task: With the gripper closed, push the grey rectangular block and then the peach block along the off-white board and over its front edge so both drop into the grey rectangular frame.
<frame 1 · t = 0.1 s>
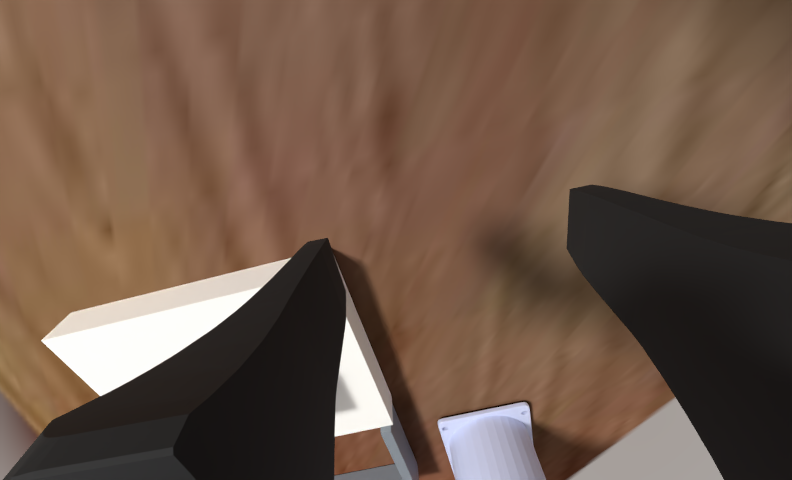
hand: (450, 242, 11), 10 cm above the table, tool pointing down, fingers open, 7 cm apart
board: (249, 359, 27), on the table
grey rectangular frame: (310, 449, 33), on the table
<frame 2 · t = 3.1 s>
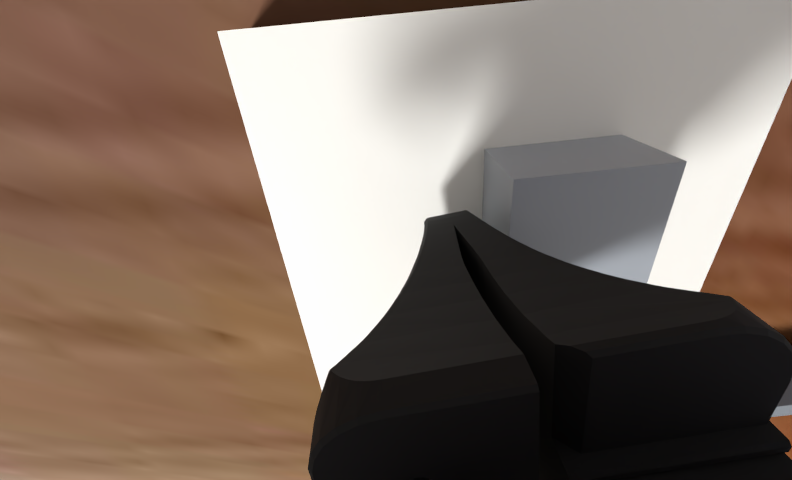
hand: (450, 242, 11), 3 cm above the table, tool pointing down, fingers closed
grey rectangular block: (543, 218, 12), point 2 cm above the table, touching board, gripper
board: (485, 257, 15), on the table
grey rectangular frame: (776, 227, 15), on the table
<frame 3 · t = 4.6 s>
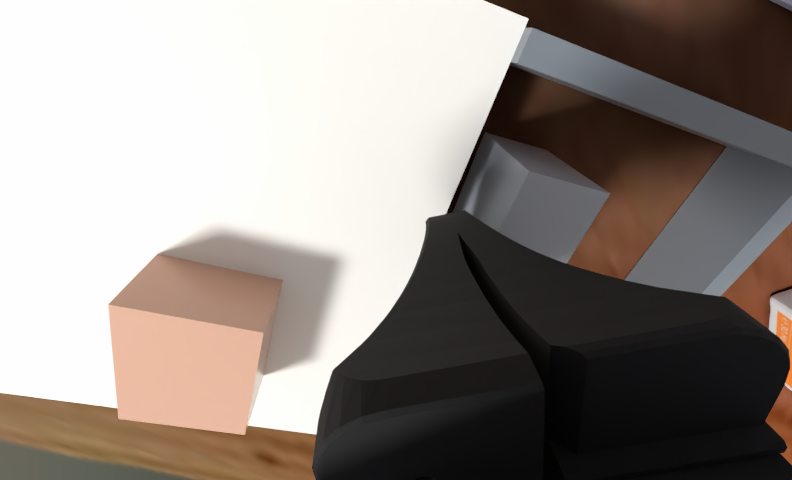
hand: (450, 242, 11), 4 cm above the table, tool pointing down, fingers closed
grey rectangular block: (472, 219, 12), point 2 cm above the table, tilted 91°, touching gripper
peach block: (216, 321, 13), point 2 cm above the table, touching board
board: (219, 213, 14), on the table
grey rectangular frame: (510, 283, 16), on the table
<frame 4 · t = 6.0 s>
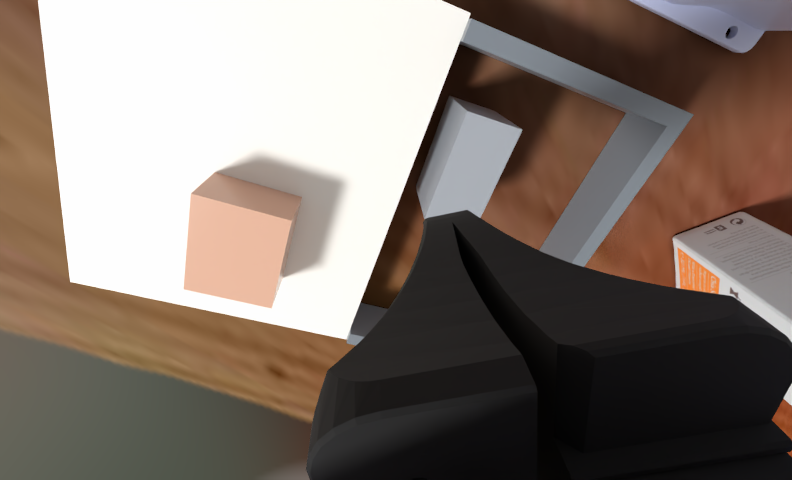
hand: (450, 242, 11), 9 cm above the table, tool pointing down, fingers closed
grey rectangular block: (437, 155, 17), point 2 cm above the table, tilted 90°
peach block: (251, 229, 18), point 2 cm above the table, touching board
board: (254, 152, 19), on the table
grey rectangular frame: (472, 218, 21), on the table
skincare box: (702, 257, 24), on the table
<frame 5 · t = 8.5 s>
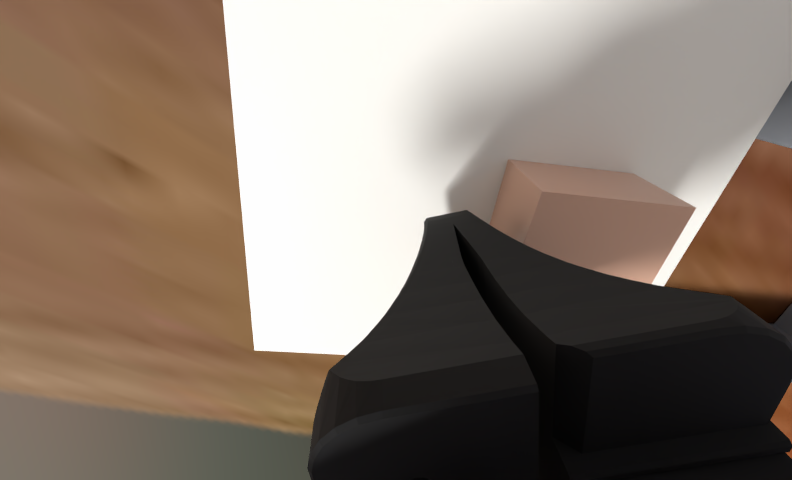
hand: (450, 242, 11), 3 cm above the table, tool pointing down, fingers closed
peach block: (544, 238, 12), point 3 cm above the table, touching board, gripper
board: (482, 121, 12), on the table
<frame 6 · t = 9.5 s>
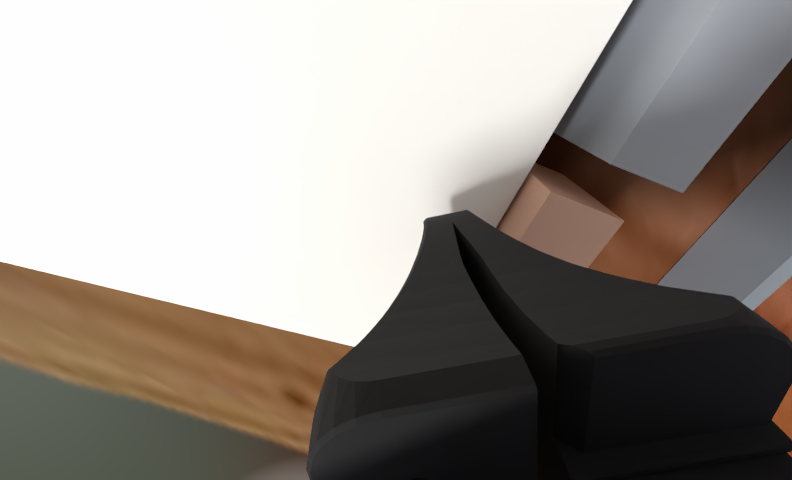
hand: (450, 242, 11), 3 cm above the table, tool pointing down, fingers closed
grey rectangular block: (624, 58, 10), point 2 cm above the table, tilted 90°
peach block: (486, 232, 13), point 2 cm above the table, tilted 89°
board: (301, 50, 11), on the table
grey rectangular frame: (618, 185, 14), on the table
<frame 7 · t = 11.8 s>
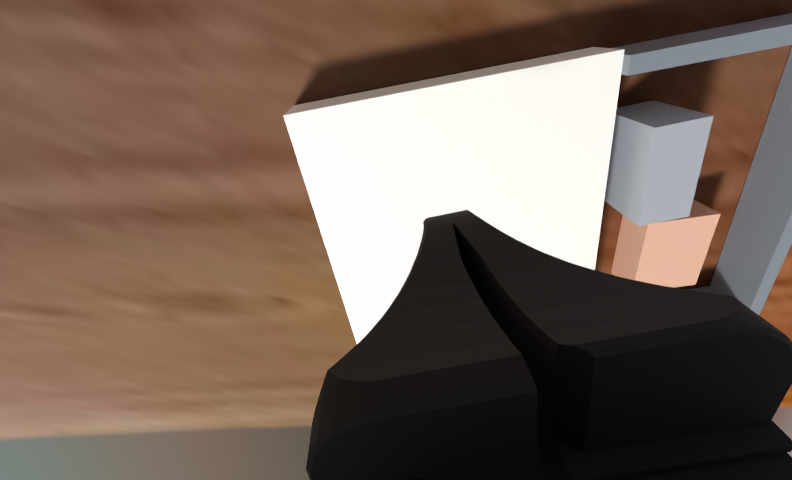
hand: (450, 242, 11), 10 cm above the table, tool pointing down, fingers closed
grey rectangular block: (621, 166, 19), point 2 cm above the table, tilted 90°
peach block: (673, 256, 21), point 2 cm above the table, tilted 180°
board: (456, 232, 22), on the table
grey rectangular frame: (661, 196, 22), on the table
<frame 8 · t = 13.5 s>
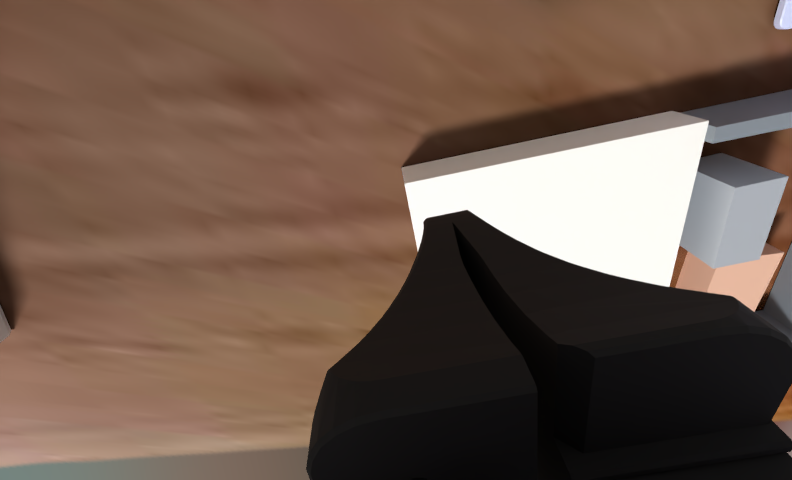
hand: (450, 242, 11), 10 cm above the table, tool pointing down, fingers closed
grey rectangular block: (694, 214, 21), point 2 cm above the table, tilted 90°
peach block: (737, 288, 23), point 2 cm above the table, tilted 180°
board: (534, 269, 24), on the table
grey rectangular frame: (723, 233, 24), on the table
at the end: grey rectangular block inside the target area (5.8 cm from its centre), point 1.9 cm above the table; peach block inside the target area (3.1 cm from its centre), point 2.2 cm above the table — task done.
